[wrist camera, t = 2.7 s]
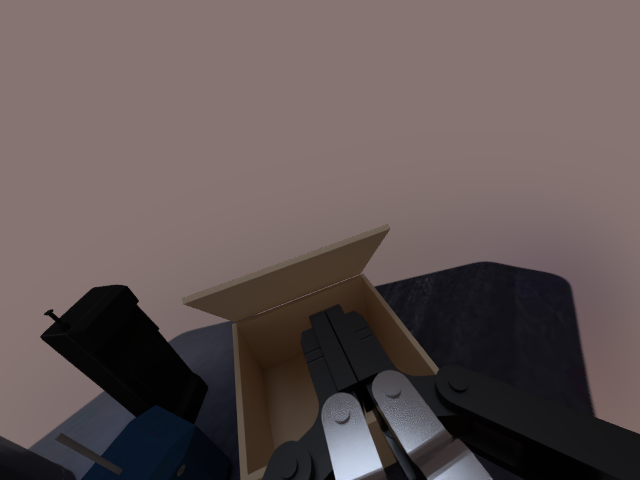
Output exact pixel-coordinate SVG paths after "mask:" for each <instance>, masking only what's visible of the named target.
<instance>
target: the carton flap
mask: <svg viewBox="0 0 640 480" xmlns="http://www.w3.org/2000/svg"><path fill="white" fill-rule="evenodd" d="M389 230H390V228H389V226H388V225H385V226H382V227H379V228H376V229H373V230H370V231H368V232H365V233H362V234H359V235H357V236H354V237H351V238H348V239H345V240H343V241H340V242H337V243H334V244H332V245H329V246H326V247H323V248H320V249H318V250H315V251H312V252H309V253H307V254H304V255H301V256H298V257H296V258H293V259H290V260H287V261H284V262H282V263H279V264H276V265H273V266H270V267H268V268H265V269H262V270H260V271H257V272H254V273H251V274H248V275H245V276H243V277H240V278H237V279H235V280H232V281H229V282H226V283H223V284H220V285H218V286H215V287H212V288H209V289H206V290H204V291H201V292H198V293H195V294H193V295H190V296H187V297H184V298H182V301H183V304H184V305H187V306H190V307H193V308H196V309H199V310H202V311H205V312H207V313H210V314H213V315H216V316H219V317H222V318H225V319H228V320H231V321H233V322H237V321H240V320H242V319H245V318H248V317H250V316H253V315H255V314H258V313H260V312H263V311H265V310H268V309H270V308H273V307H276V306H278V305H281V304H284V303H286V302H289V301H291V300H294V299H296V298H299V297H302V296H304V295H307V294H309V293H312V292H314V291H317V290H319V289H322V288H325V287H327V286H330V285H333V284H335V283H337V282H340V281H343V280H345V279H348V278H350V277H353V276H356V275H358V274H360V273H361V272H362V270H363V269H364V267H365V266H366V264H367V263H368V261H369V260H370V258H371V257H372V255H373V254H374V252H375V251H376V249H377V248H378V246H379V245H380V243H381V242H382V240H383V239H384V237H385V236H386V234H387V233H388V231H389Z"/></svg>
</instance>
